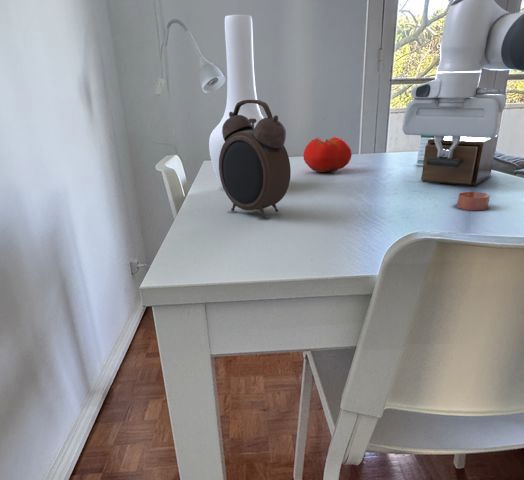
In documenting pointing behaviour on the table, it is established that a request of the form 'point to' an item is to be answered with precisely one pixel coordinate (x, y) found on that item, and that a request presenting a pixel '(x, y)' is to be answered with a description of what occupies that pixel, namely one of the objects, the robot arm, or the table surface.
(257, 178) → the alarm clock
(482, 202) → the brown round bowl
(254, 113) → the vase
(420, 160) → the syrup box
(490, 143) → the cabinet
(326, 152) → the tomato
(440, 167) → the drawer
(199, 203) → the table surface
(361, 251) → the table surface
